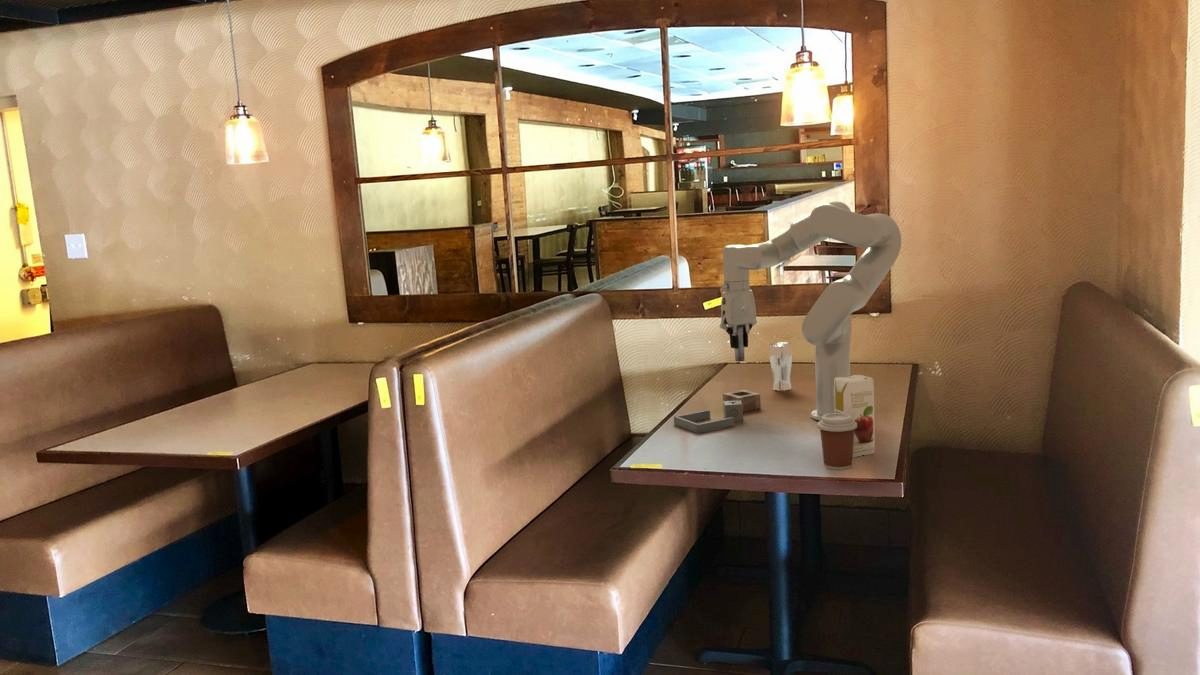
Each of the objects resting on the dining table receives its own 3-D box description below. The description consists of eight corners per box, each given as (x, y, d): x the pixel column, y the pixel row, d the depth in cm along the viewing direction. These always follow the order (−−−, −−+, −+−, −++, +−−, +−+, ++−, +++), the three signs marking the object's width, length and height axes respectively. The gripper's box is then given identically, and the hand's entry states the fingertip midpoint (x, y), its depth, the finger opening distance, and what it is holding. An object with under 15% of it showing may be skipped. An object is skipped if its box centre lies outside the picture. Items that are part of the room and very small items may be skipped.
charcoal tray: (733, 425, 258) (733, 417, 258) (698, 433, 253) (697, 424, 252) (708, 417, 269) (708, 409, 269) (674, 424, 264) (673, 416, 263)
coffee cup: (835, 457, 223) (834, 409, 221) (866, 465, 216) (865, 415, 214) (810, 466, 218) (808, 417, 216) (841, 474, 210) (839, 423, 208)
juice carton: (831, 452, 228) (829, 377, 225) (860, 446, 230) (858, 372, 227) (849, 459, 221) (848, 382, 218) (879, 454, 223) (878, 378, 220)
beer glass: (791, 386, 303) (790, 341, 300) (794, 391, 296) (792, 345, 294) (770, 387, 303) (768, 342, 301) (772, 392, 297) (770, 346, 294)
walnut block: (760, 408, 276) (760, 393, 275) (739, 412, 273) (738, 398, 272) (744, 403, 283) (744, 389, 282) (723, 408, 280) (722, 393, 279)
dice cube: (741, 416, 268) (740, 400, 267) (743, 421, 263) (742, 404, 262) (724, 417, 268) (723, 401, 267) (725, 422, 263) (725, 405, 262)
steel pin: (746, 360, 275) (744, 317, 273) (738, 361, 274) (737, 318, 272) (740, 359, 277) (739, 316, 275) (733, 360, 276) (731, 318, 274)
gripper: (721, 290, 265) (724, 352, 268) (766, 284, 272) (768, 345, 275) (706, 288, 272) (709, 349, 275) (751, 283, 279) (753, 342, 282)
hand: (739, 346), depth 275 cm, fingers closed on steel pin, 2 cm apart
